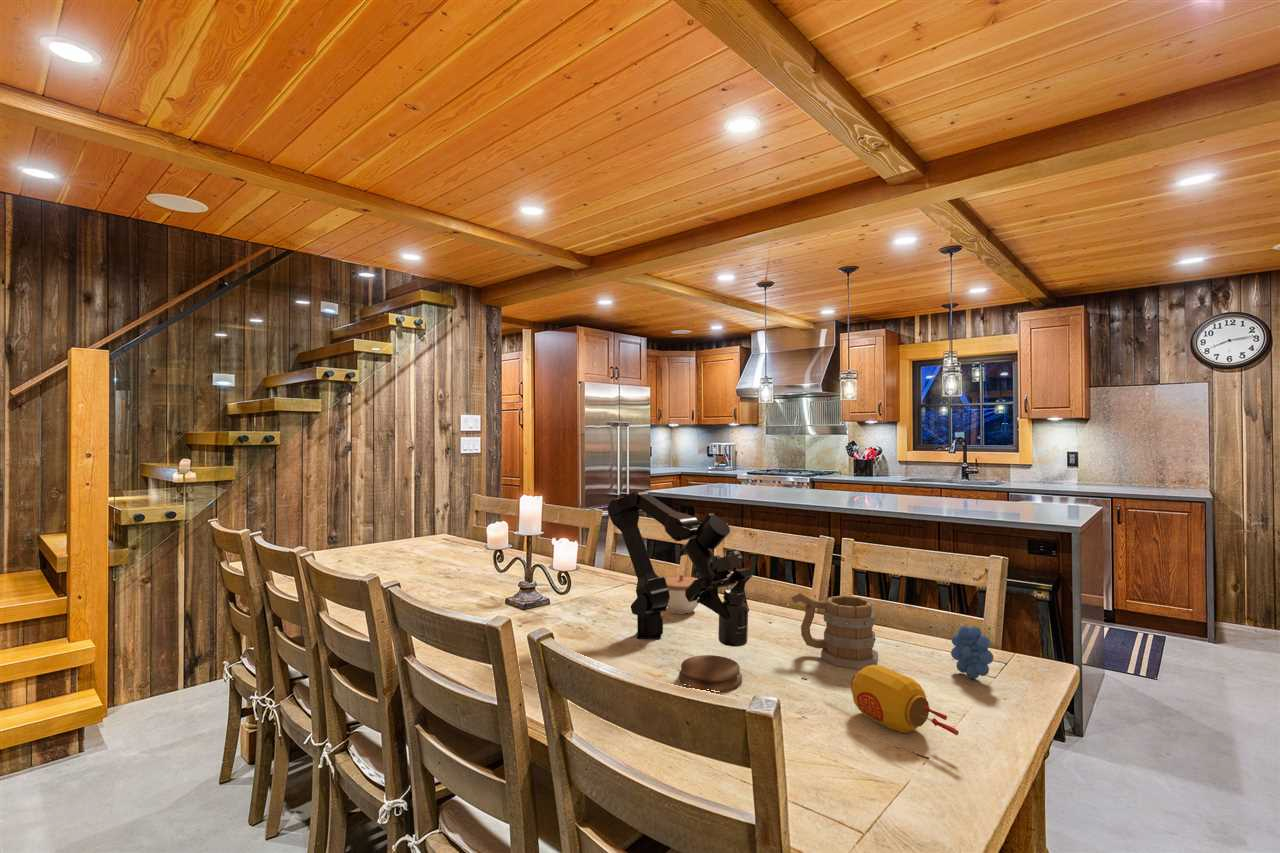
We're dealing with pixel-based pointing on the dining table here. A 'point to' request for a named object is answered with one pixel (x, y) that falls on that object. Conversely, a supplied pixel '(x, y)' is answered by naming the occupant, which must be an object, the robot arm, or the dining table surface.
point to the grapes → (971, 651)
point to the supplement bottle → (734, 619)
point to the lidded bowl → (680, 594)
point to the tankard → (842, 630)
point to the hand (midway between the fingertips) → (737, 615)
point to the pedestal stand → (710, 673)
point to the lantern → (892, 699)
